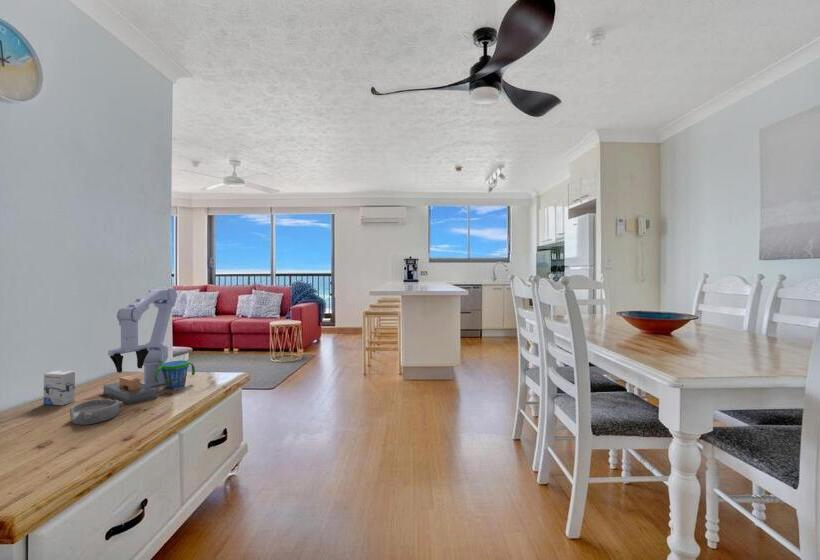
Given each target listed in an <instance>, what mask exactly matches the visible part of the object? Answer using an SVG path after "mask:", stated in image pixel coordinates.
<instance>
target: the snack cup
mask: <svg viewBox="0 0 820 560" xmlns="http://www.w3.org/2000/svg"><path fill="white" fill-rule="evenodd" d="M189 365H191V375H192V376H194V375H195V373H196V367H195V365H194V364H193V363H192V362H189V361H188V360H172V361H168V362H167V361H166V363H163V364H162V365H161V366H160V367H159V368H158V369H157V370H156V372H155V376H154V378H155V381H156V382H158V380H157V372H158V371H159V370H160V369H162V372H163V375H164V381H165V388H169V389H176V387H177V388H180V387H183V386H185V385H186V381H187V374H188V368H189Z"/></svg>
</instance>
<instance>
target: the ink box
mask: <svg viewBox="0 0 820 560" xmlns="http://www.w3.org/2000/svg"><path fill="white" fill-rule="evenodd" d="M75 385H76V372H75V371H74V370H53V371H50V372H46V373H43V405H51V406H52V405H55V406H65V405H68V404H70V403H74V402H76V401H75V399H76V398H75V396H76V395H75V387H76V386H75Z"/></svg>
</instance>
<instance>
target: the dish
mask: <svg viewBox="0 0 820 560" xmlns="http://www.w3.org/2000/svg"><path fill="white" fill-rule="evenodd" d="M123 405H124V402H122V401H119V400H117V399H111V398H98V399H90V400H86V401H82V402H78V403H76V404H74V405H73V406H71V407H70V409H69V418H70V420H71V423H72V424H75V425H80V426H83V425H84V426H85V425H93V424H98V423H101V422H105V421H108V420H110V419H111V420H112V419H113V418H115V417H116V416H117V415H118V414H119V413H120V412H119V411H120V409H121V408H122V407H123Z"/></svg>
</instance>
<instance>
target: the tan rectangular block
mask: <svg viewBox="0 0 820 560" xmlns="http://www.w3.org/2000/svg"><path fill="white" fill-rule="evenodd" d="M118 378H119V381H118V382H119V383H120V387H122V388H123V387H128V390H130V391H131V390H135V389H140V383H141V379H140V378H137V377H133V376H130V375H125V376H120V377H118Z"/></svg>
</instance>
